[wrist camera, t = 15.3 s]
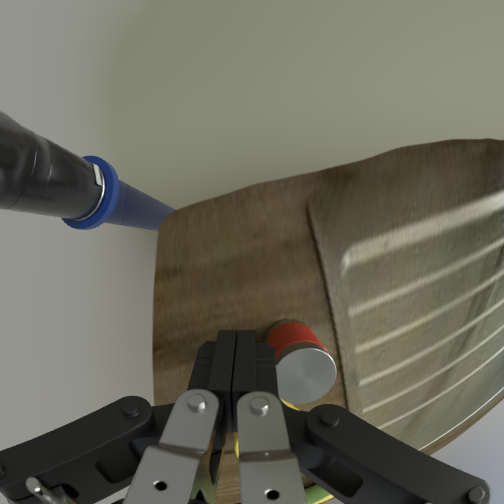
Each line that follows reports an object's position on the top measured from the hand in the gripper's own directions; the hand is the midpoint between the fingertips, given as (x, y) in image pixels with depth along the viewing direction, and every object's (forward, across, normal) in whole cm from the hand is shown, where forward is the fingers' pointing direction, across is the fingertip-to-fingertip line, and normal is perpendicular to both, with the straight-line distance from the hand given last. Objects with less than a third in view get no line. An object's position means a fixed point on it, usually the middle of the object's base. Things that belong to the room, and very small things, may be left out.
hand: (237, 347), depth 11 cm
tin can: (+22, -5, +15) cm, 27 cm away
